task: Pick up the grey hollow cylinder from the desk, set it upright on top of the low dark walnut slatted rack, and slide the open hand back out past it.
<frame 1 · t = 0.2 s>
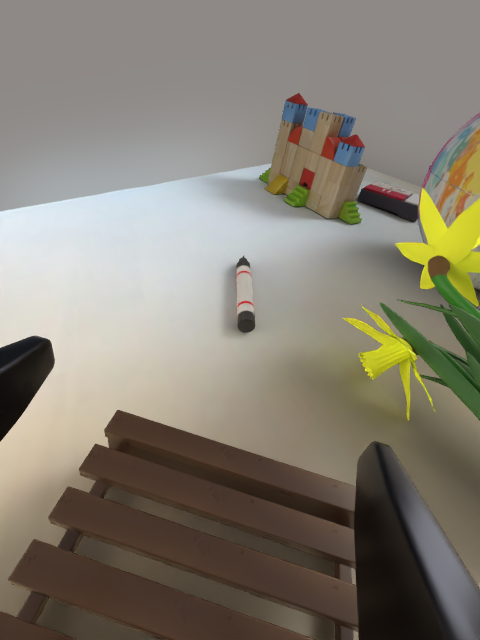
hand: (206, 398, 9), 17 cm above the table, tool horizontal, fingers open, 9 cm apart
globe: (468, 280, 59), on the table
rack: (197, 608, 18), on the table
marker: (242, 294, 42), on the table
block set: (304, 200, 77), on the table
daffodil flowers: (472, 434, 31), on the table
calculator: (389, 207, 85), on the table
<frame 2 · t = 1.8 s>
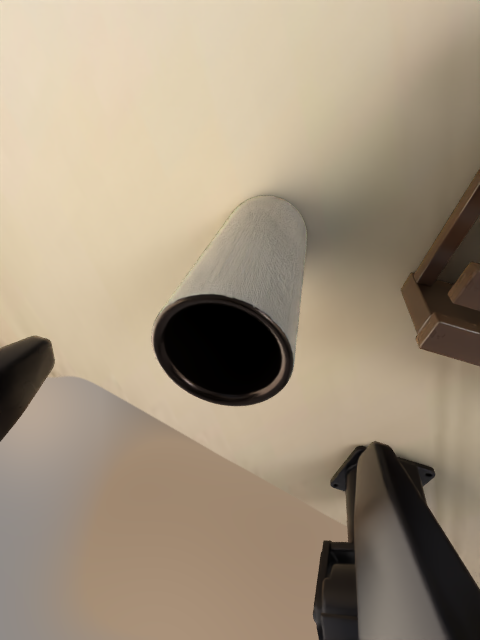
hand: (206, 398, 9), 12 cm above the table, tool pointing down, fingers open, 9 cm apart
grey hollow cylinder: (266, 235, 18), on the table
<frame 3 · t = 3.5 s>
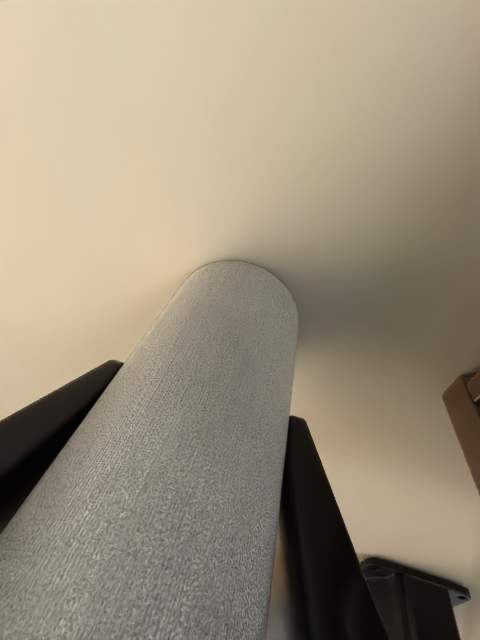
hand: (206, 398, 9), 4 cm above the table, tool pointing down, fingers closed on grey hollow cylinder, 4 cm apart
grey hollow cylinder: (238, 312, 12), on the table, touching gripper
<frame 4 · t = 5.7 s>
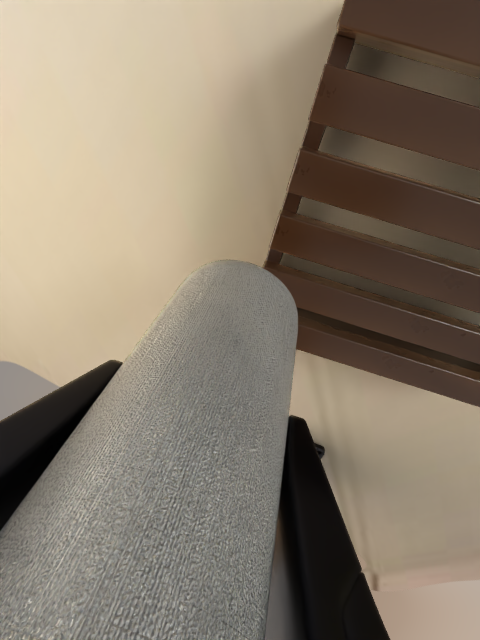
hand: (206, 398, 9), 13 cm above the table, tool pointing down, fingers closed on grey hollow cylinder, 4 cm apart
grey hollow cylinder: (237, 311, 12), point 9 cm above the table, touching gripper
rack: (447, 222, 17), on the table
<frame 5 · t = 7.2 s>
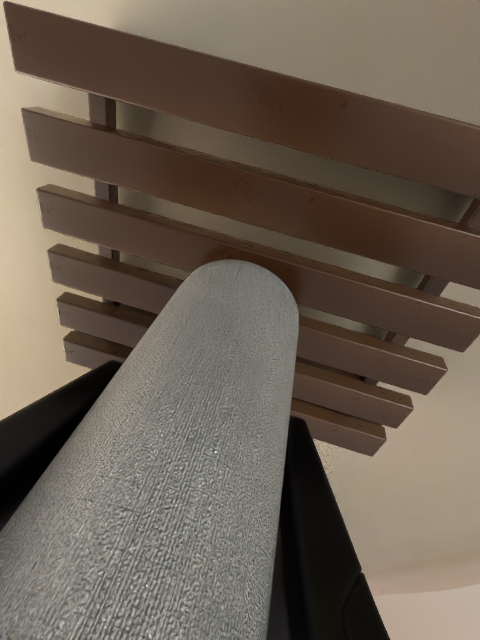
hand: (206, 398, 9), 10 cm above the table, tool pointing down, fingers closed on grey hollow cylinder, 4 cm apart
grey hollow cylinder: (238, 311, 12), point 6 cm above the table, touching gripper
rack: (263, 248, 17), on the table
when the fingers open (9 cm above the table, at t = 7.9 s): grey hollow cylinder stays where it is, resting on rack.
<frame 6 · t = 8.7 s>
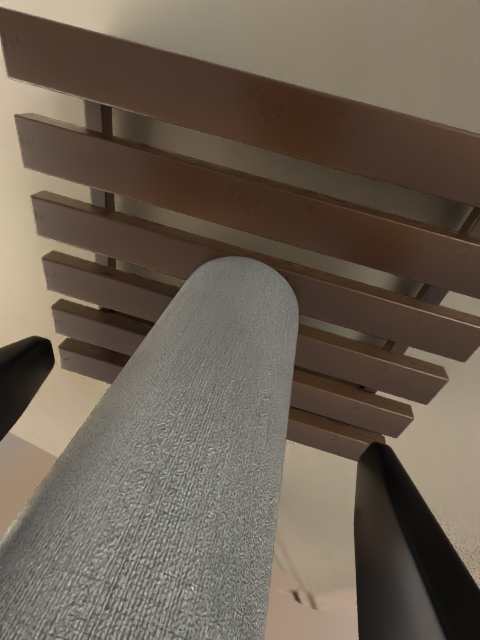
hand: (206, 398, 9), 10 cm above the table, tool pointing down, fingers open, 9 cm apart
grey hollow cylinder: (240, 306, 13), point 5 cm above the table, touching rack
rack: (261, 254, 16), on the table
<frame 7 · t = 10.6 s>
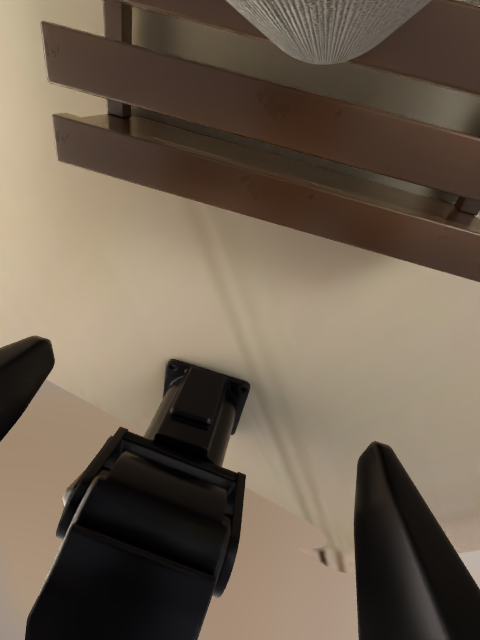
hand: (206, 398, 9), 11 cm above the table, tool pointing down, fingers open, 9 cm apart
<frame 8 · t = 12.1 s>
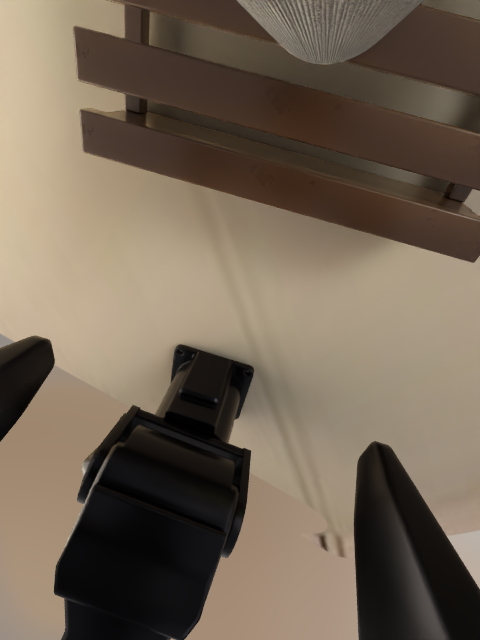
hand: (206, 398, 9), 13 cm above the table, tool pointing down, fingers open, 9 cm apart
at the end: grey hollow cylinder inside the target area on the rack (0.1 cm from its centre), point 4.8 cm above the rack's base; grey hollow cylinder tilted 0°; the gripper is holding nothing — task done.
